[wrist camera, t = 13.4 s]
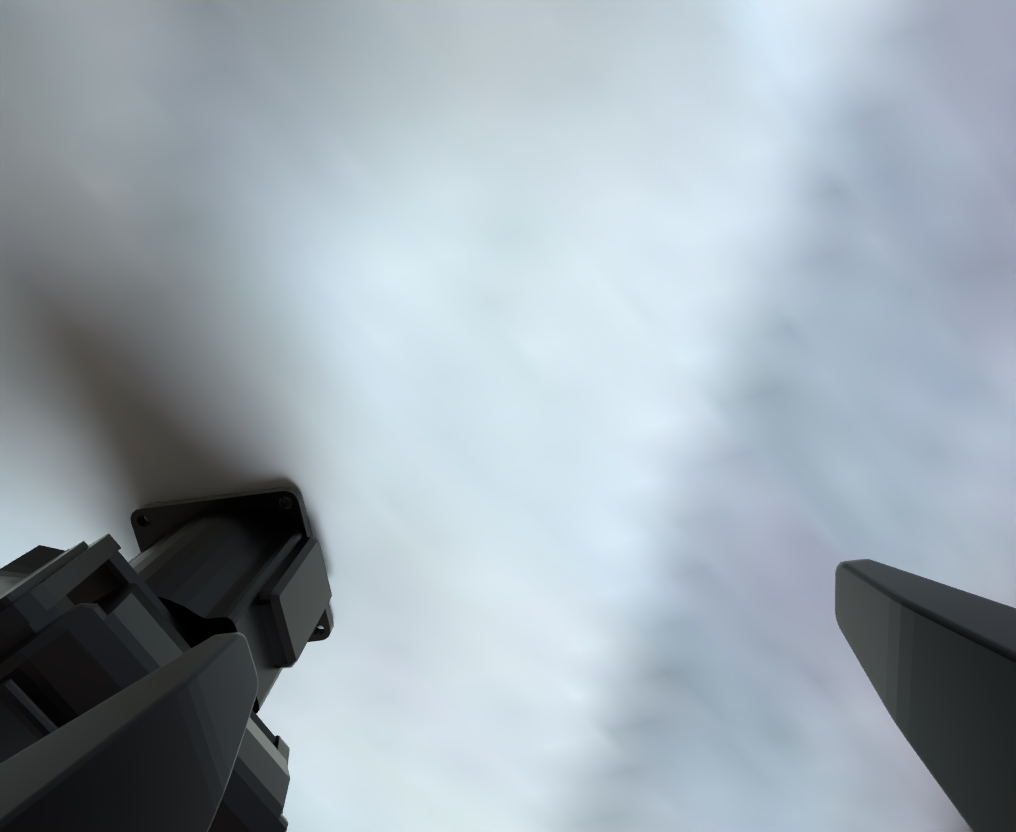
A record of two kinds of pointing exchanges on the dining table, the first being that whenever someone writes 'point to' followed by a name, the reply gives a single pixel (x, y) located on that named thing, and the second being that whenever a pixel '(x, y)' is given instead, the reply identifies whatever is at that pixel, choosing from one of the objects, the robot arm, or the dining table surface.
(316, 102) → the dining table surface
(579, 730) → the dining table surface
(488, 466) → the dining table surface
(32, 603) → the robot arm
